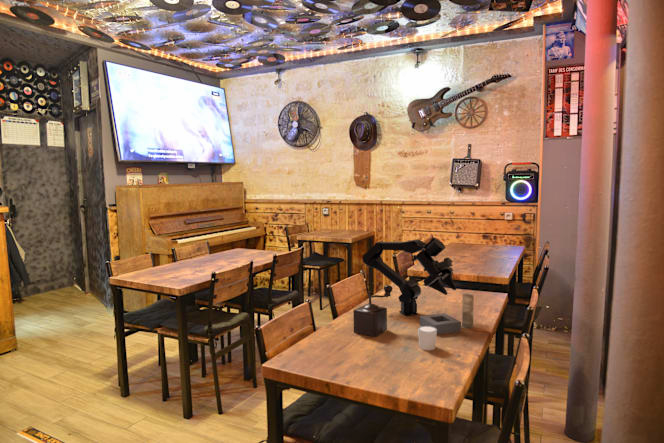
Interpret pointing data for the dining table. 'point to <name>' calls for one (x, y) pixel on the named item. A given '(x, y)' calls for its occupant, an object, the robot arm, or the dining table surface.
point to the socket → (441, 323)
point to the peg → (467, 310)
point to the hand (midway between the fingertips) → (451, 292)
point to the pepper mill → (371, 316)
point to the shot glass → (427, 337)
